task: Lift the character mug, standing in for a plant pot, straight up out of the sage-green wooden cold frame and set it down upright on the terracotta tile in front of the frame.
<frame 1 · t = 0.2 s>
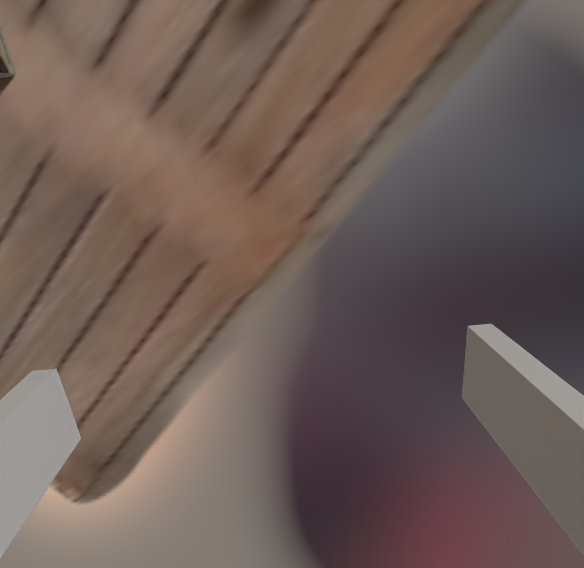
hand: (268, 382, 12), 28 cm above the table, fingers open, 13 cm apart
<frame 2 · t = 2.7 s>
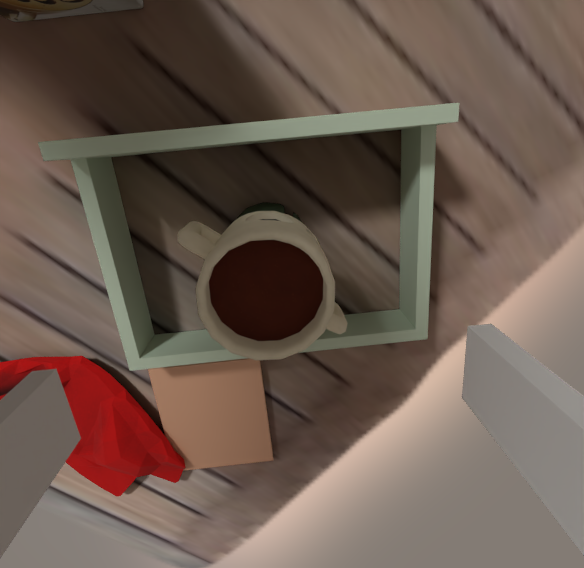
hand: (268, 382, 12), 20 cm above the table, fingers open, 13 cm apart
cloth: (64, 410, 35), on the table, touching terracotta tile
character mug: (268, 239, 31), resting in cold frame
terracotta tile: (215, 412, 36), on the table
cold frame: (268, 240, 30), on the table
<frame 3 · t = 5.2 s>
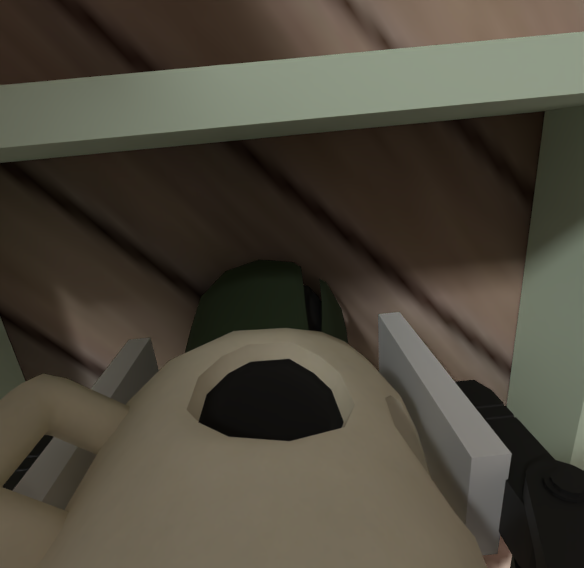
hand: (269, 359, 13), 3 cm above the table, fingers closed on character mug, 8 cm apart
character mug: (269, 323, 16), resting in cold frame, touching gripper
cold frame: (269, 324, 16), on the table
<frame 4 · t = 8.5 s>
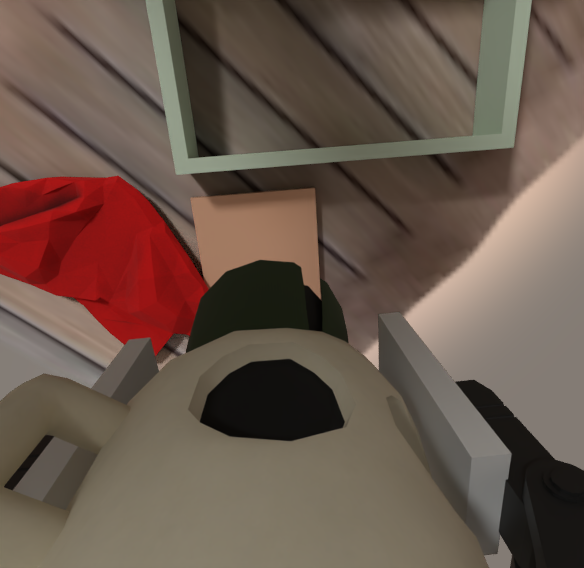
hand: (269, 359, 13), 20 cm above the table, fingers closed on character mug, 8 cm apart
cloth: (93, 251, 31), on the table, touching terracotta tile
character mug: (269, 323, 16), point 17 cm above the table, touching gripper
terracotta tile: (260, 262, 32), on the table
cold frame: (333, 37, 27), on the table
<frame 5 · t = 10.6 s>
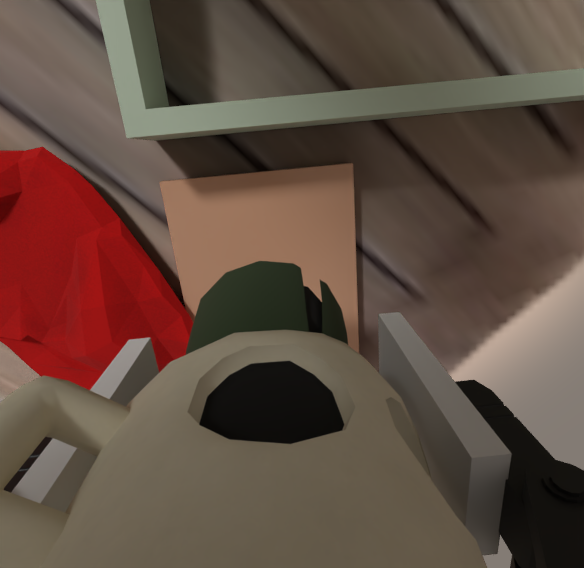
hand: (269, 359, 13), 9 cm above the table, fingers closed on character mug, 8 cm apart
cloth: (17, 265, 21), on the table, touching terracotta tile
character mug: (269, 324, 16), point 6 cm above the table, touching gripper
terracotta tile: (269, 277, 22), on the table
when the fingers open (5 cm above the table, at t = 12.3 s): character mug drops 1 cm, resting on terracotta tile.
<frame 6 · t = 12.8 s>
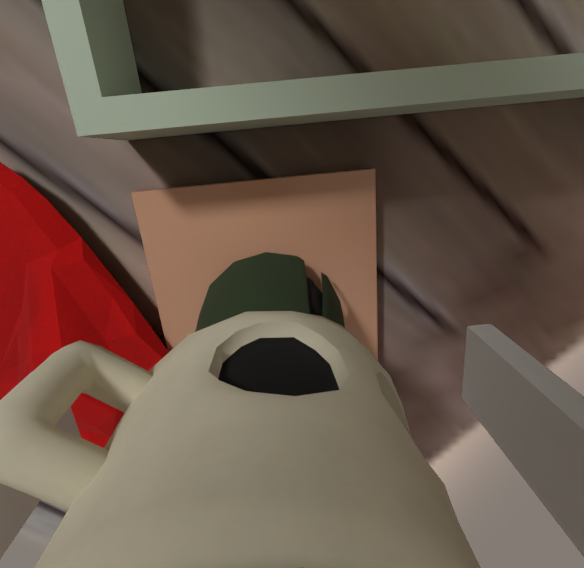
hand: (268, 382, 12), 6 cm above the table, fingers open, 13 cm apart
character mug: (272, 312, 17), point 1 cm above the table, touching terracotta tile
terracotta tile: (270, 307, 18), on the table
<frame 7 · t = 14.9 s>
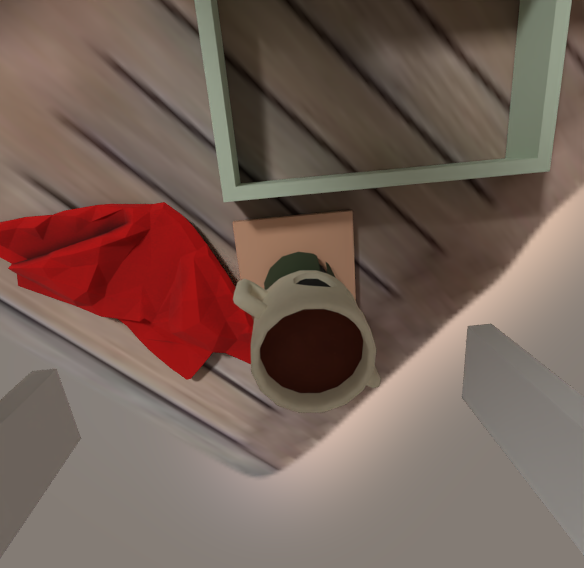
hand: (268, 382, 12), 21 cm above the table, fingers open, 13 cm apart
cloth: (138, 273, 32), on the table, touching terracotta tile
character mug: (299, 284, 33), point 1 cm above the table, touching terracotta tile
terracotta tile: (298, 282, 33), on the table
cold frame: (371, 68, 28), on the table
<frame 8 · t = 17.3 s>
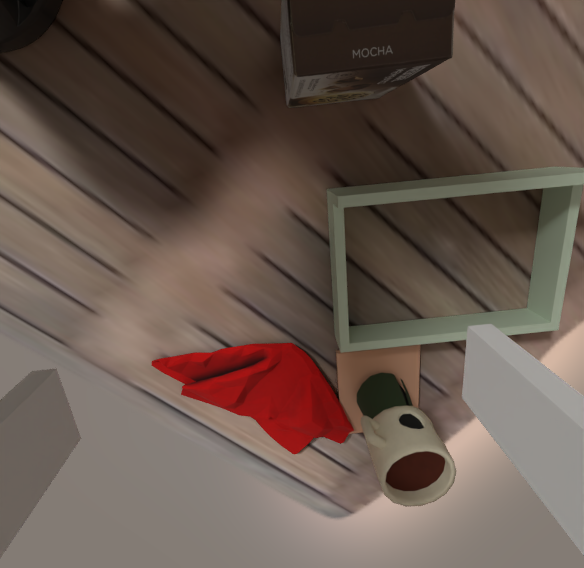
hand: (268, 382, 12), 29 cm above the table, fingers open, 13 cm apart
cloth: (266, 385, 45), on the table, touching terracotta tile
coffee box: (329, 67, 35), on the table
character mug: (379, 390, 46), point 1 cm above the table, touching terracotta tile
terracotta tile: (377, 387, 47), on the table
cold frame: (437, 256, 41), on the table
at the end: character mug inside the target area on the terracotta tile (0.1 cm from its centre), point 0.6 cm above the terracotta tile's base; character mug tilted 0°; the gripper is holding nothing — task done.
